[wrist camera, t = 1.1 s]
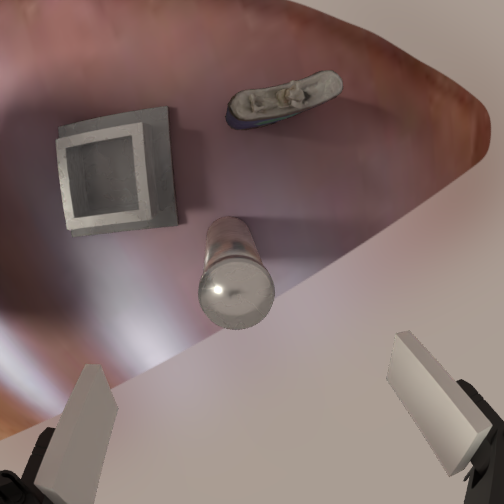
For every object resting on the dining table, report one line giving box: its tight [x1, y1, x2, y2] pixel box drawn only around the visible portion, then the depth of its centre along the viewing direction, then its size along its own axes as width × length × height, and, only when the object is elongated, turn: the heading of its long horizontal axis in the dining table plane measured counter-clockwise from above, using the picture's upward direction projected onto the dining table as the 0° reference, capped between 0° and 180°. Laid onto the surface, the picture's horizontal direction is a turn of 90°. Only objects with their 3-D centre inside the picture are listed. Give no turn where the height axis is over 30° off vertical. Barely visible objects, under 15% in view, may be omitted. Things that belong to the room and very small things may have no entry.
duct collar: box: [56, 106, 179, 237], centre depth 28 cm, size 12×12×5 cm
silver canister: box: [198, 216, 275, 330], centre depth 27 cm, size 5×5×14 cm
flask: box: [225, 70, 343, 130], centre depth 25 cm, size 9×3×11 cm, turn 109°
